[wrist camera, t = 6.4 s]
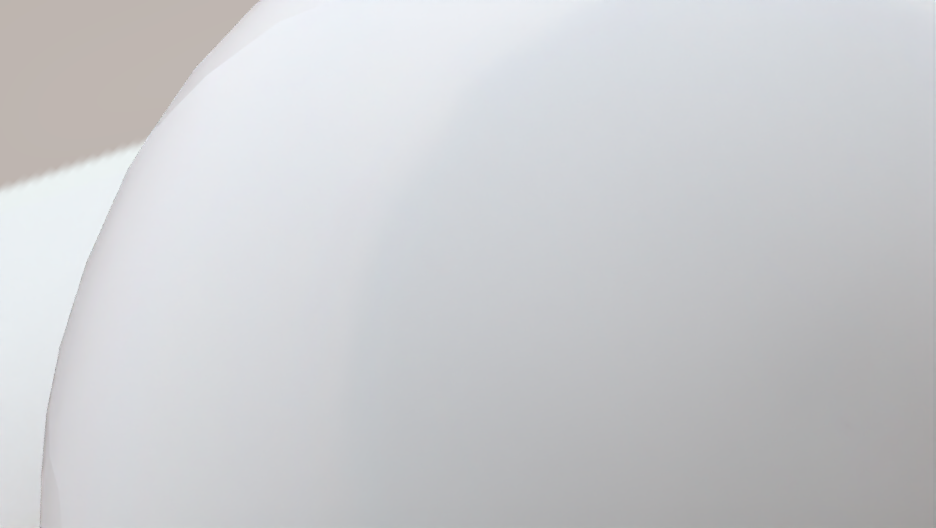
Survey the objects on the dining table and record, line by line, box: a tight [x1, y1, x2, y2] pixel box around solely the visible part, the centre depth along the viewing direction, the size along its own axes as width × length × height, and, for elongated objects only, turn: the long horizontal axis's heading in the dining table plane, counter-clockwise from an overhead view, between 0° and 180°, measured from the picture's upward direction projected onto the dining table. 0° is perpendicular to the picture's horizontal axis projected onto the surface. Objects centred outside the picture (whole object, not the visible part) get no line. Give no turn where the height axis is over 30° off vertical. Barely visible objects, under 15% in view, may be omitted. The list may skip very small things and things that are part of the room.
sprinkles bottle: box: [40, 0, 936, 528], centre depth 9 cm, size 5×5×14 cm
